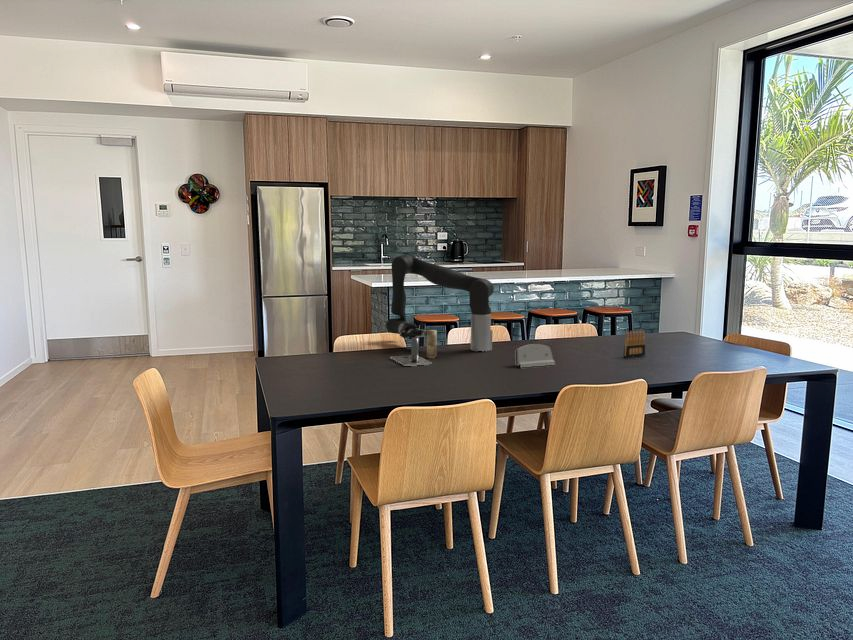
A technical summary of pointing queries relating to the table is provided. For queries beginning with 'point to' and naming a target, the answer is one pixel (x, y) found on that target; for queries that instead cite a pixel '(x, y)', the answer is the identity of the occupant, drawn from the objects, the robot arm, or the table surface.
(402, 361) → the bolt plate
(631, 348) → the ammunition clip
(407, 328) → the robot arm
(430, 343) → the oak post
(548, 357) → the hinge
